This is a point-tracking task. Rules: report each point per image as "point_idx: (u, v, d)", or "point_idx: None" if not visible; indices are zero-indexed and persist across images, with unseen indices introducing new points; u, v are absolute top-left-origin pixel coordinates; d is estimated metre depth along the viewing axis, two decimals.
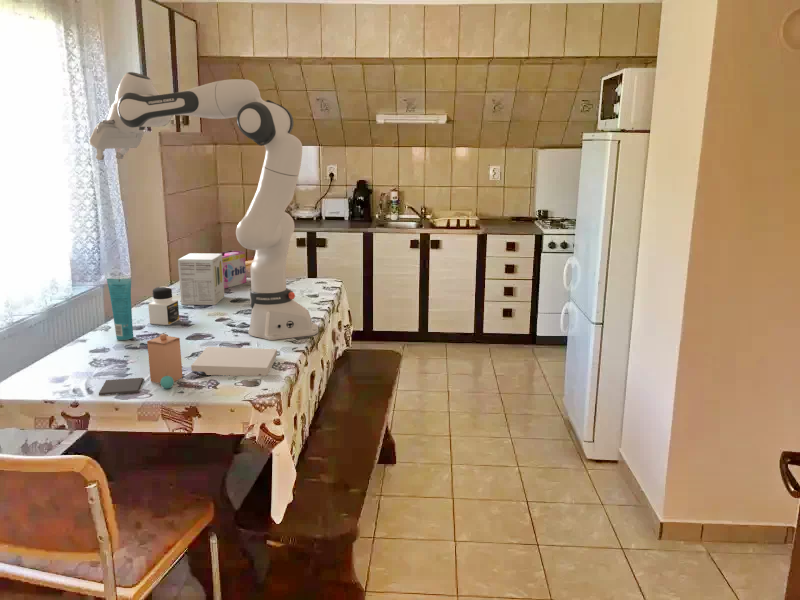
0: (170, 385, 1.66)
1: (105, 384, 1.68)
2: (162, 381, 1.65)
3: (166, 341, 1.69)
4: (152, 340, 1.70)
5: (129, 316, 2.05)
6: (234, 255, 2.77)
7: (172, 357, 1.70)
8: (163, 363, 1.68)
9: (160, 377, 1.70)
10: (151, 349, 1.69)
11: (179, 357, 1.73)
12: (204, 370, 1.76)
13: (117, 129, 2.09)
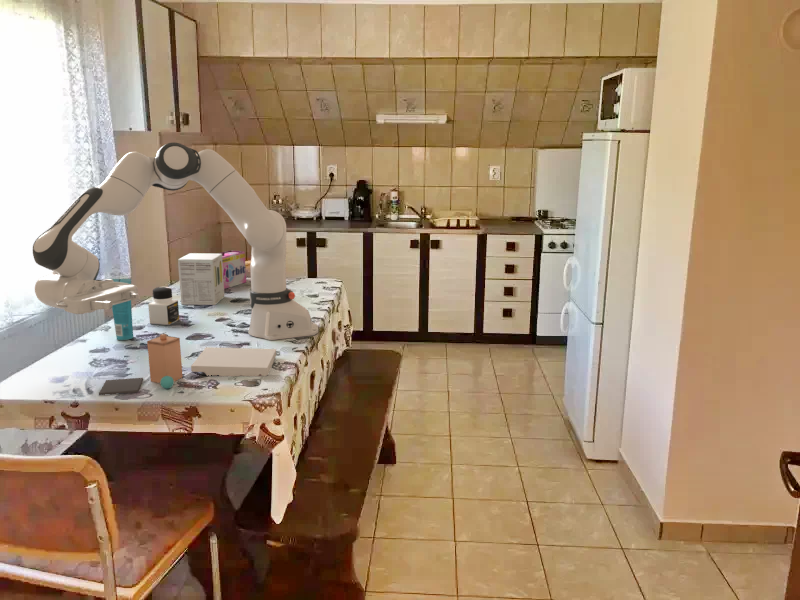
0: (170, 385, 1.66)
1: (105, 384, 1.68)
2: (162, 381, 1.65)
3: (166, 341, 1.69)
4: (152, 340, 1.70)
5: (129, 316, 2.05)
6: (235, 255, 2.78)
7: (172, 357, 1.70)
8: (163, 363, 1.68)
9: (160, 377, 1.70)
10: (151, 349, 1.69)
11: (179, 357, 1.73)
12: (204, 370, 1.75)
13: (80, 293, 1.74)
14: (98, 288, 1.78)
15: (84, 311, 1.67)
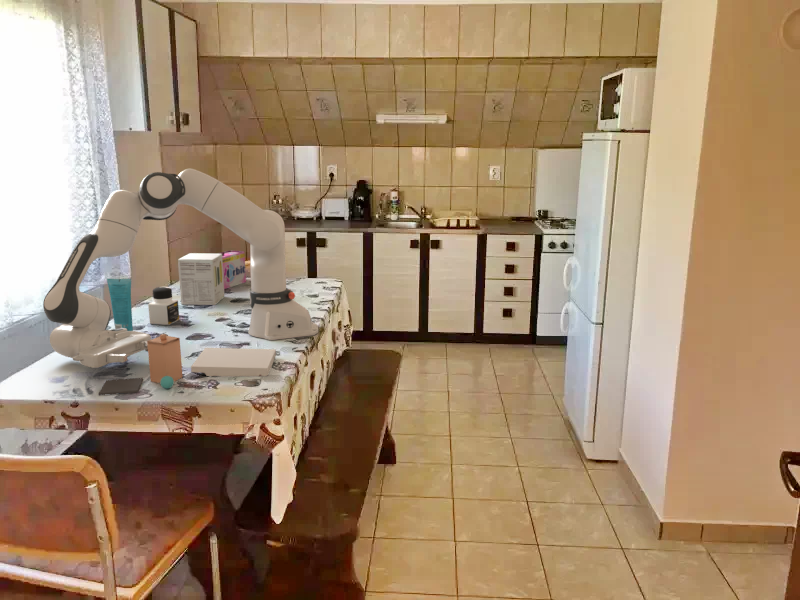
0: (170, 385, 1.66)
1: (105, 384, 1.68)
2: (162, 381, 1.65)
3: (166, 341, 1.69)
4: (152, 340, 1.70)
5: (129, 316, 2.05)
6: (235, 255, 2.78)
7: (172, 357, 1.70)
8: (163, 363, 1.68)
9: (160, 377, 1.70)
10: (151, 349, 1.69)
11: (179, 357, 1.73)
12: (204, 371, 1.75)
13: (95, 345, 1.76)
14: (113, 339, 1.80)
15: (100, 365, 1.69)
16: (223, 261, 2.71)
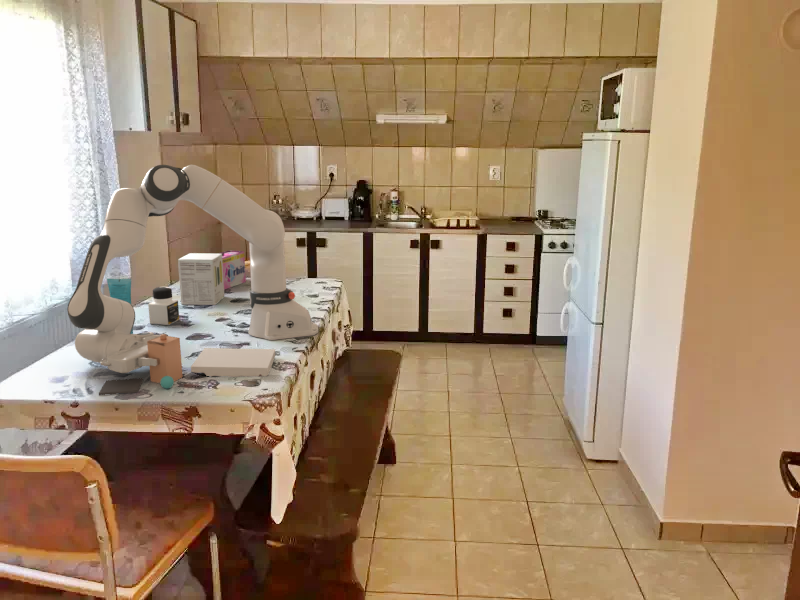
0: (170, 385, 1.66)
1: (105, 384, 1.68)
2: (162, 381, 1.65)
3: (166, 341, 1.69)
4: (152, 340, 1.70)
5: None
6: (235, 255, 2.78)
7: (172, 357, 1.70)
8: (163, 363, 1.68)
9: (160, 377, 1.70)
10: (151, 349, 1.69)
11: (179, 357, 1.73)
12: (204, 371, 1.75)
13: (122, 349, 1.72)
14: (140, 343, 1.76)
15: (128, 370, 1.66)
16: (224, 261, 2.71)
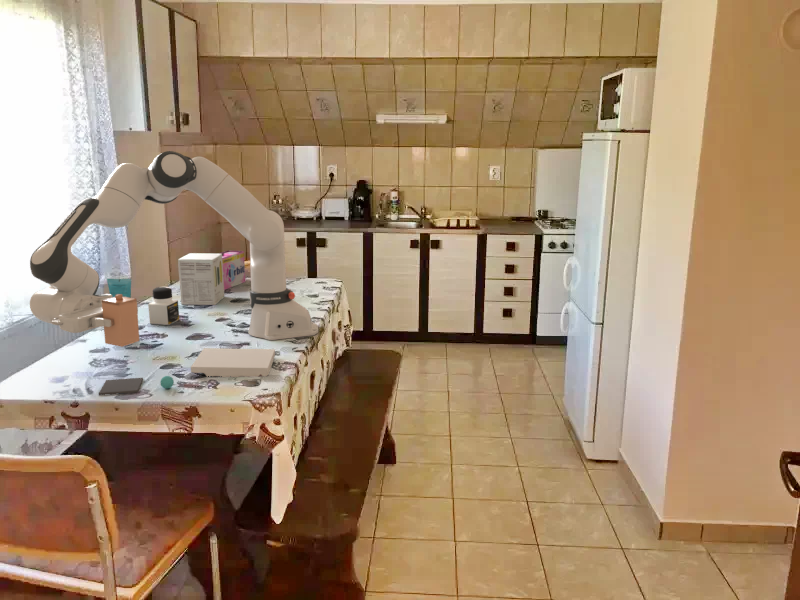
0: (170, 385, 1.66)
1: (105, 384, 1.68)
2: (162, 381, 1.65)
3: (121, 301, 1.61)
4: (107, 300, 1.62)
5: None
6: (235, 255, 2.78)
7: (128, 318, 1.63)
8: (118, 324, 1.61)
9: (115, 339, 1.63)
10: (106, 309, 1.62)
11: (136, 319, 1.65)
12: (204, 371, 1.75)
13: (76, 310, 1.65)
14: (96, 304, 1.69)
15: (80, 330, 1.58)
16: (225, 261, 2.71)
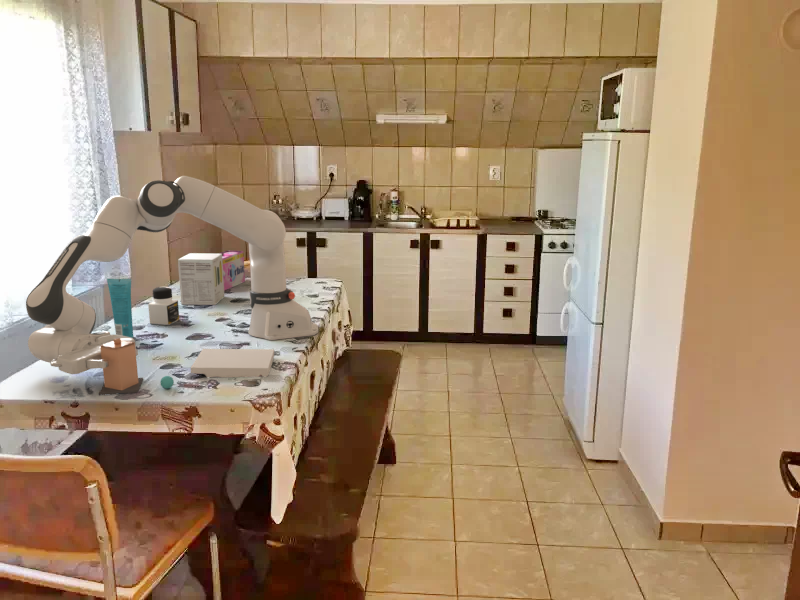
0: (170, 385, 1.66)
1: None
2: (162, 381, 1.65)
3: (120, 345, 1.63)
4: (106, 344, 1.64)
5: (129, 316, 2.05)
6: (236, 254, 2.79)
7: (126, 362, 1.65)
8: (117, 368, 1.63)
9: (114, 383, 1.64)
10: (104, 354, 1.63)
11: (134, 362, 1.67)
12: (204, 372, 1.74)
13: (75, 350, 1.66)
14: (94, 343, 1.70)
15: (79, 371, 1.60)
16: (227, 261, 2.71)
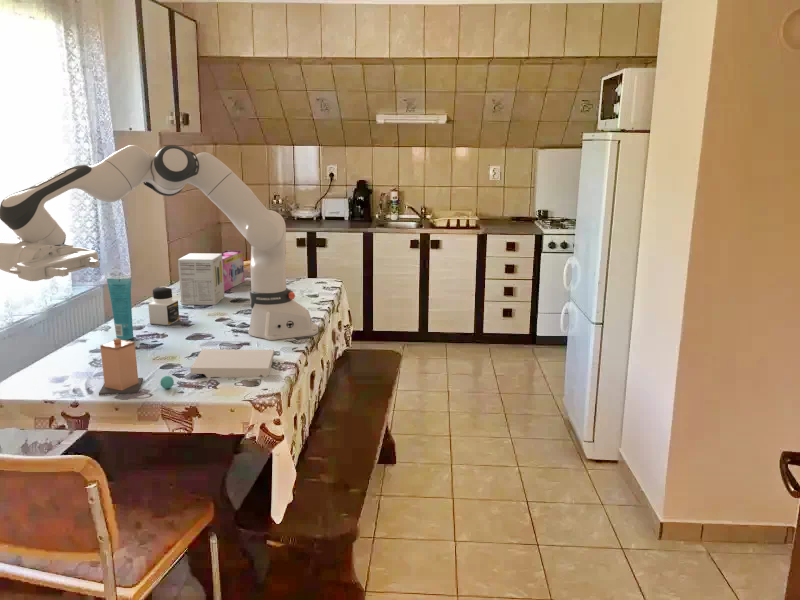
0: (170, 385, 1.66)
1: None
2: (162, 381, 1.65)
3: (120, 345, 1.63)
4: (106, 344, 1.64)
5: (129, 316, 2.05)
6: (236, 254, 2.79)
7: (126, 362, 1.65)
8: (117, 368, 1.63)
9: (114, 383, 1.64)
10: (104, 354, 1.63)
11: (134, 362, 1.67)
12: (204, 372, 1.74)
13: (35, 259, 1.65)
14: (55, 254, 1.69)
15: (38, 278, 1.59)
16: (228, 261, 2.71)
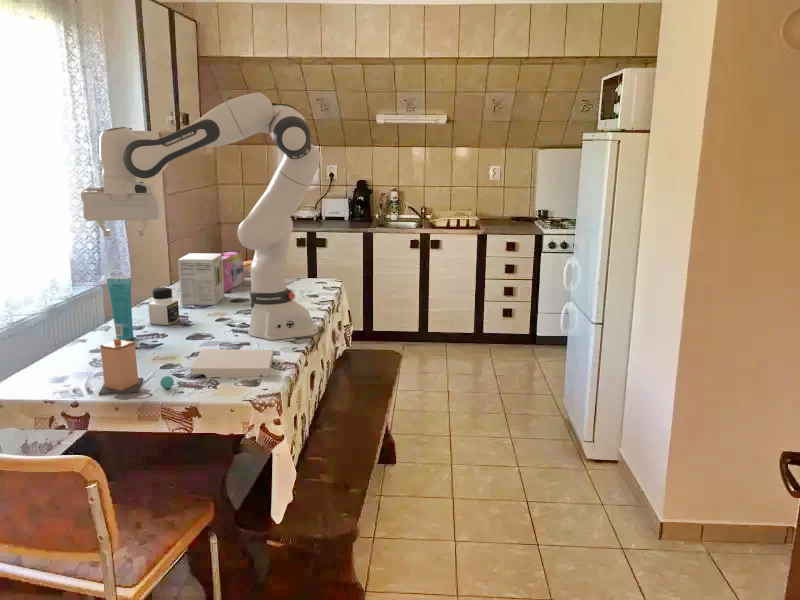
0: (170, 385, 1.66)
1: None
2: (162, 381, 1.65)
3: (120, 345, 1.63)
4: (106, 344, 1.64)
5: (129, 316, 2.05)
6: (236, 254, 2.79)
7: (126, 362, 1.65)
8: (117, 368, 1.63)
9: (114, 383, 1.64)
10: (104, 354, 1.63)
11: (134, 362, 1.67)
12: (204, 373, 1.74)
13: (106, 195, 1.83)
14: (125, 199, 1.84)
15: None
16: (229, 261, 2.71)
